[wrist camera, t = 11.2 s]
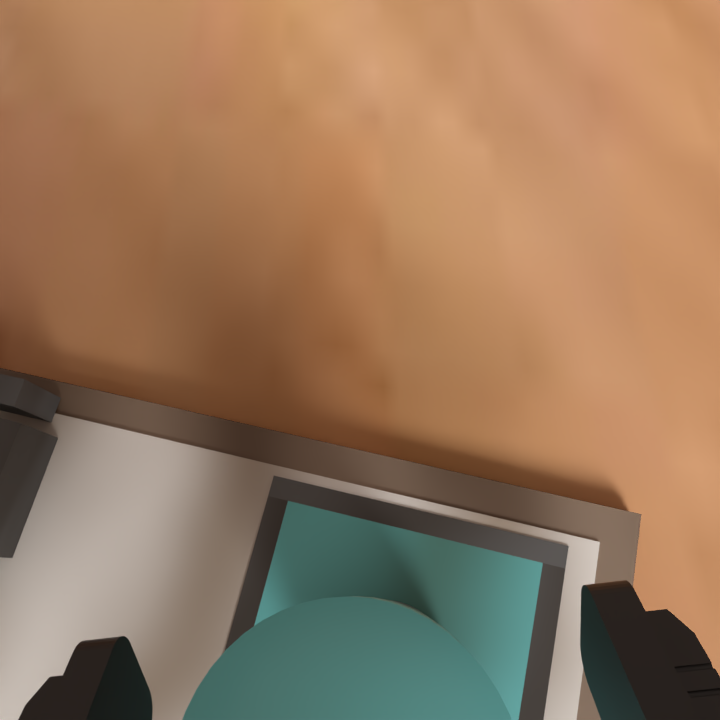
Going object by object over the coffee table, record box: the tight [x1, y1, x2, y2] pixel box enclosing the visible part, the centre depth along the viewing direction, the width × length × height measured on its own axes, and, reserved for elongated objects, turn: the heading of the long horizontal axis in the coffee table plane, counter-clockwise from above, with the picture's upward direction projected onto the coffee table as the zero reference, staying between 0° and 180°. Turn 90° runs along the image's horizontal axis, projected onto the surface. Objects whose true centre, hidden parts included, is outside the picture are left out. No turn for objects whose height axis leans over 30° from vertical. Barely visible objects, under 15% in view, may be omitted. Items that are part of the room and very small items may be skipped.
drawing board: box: [0, 368, 641, 720], centre depth 17 cm, size 24×15×3 cm, turn 77°
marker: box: [182, 596, 512, 720], centre depth 12 cm, size 4×4×11 cm
